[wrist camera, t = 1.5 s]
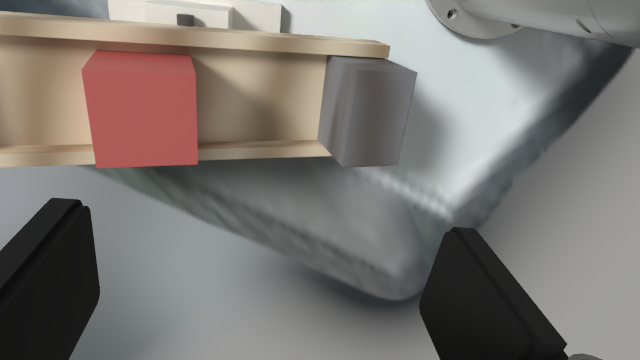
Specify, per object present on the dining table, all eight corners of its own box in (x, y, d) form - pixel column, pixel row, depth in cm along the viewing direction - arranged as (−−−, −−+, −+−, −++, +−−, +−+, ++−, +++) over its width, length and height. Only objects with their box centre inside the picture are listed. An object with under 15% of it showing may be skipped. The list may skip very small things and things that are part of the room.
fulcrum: (281, 4, 30) (284, 9, 25) (272, 139, 35) (273, 165, 30) (110, -16, 28) (79, -15, 23) (127, 131, 33) (104, 157, 28)
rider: (189, 54, 24) (195, 73, 20) (192, 132, 26) (197, 164, 22) (96, 49, 22) (81, 69, 18) (107, 133, 24) (96, 168, 20)
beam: (372, 30, 29) (423, 46, 23) (353, 146, 33) (392, 184, 27) (-87, -10, 20) (-186, 0, 14) (-35, 156, 24) (-95, 216, 18)
